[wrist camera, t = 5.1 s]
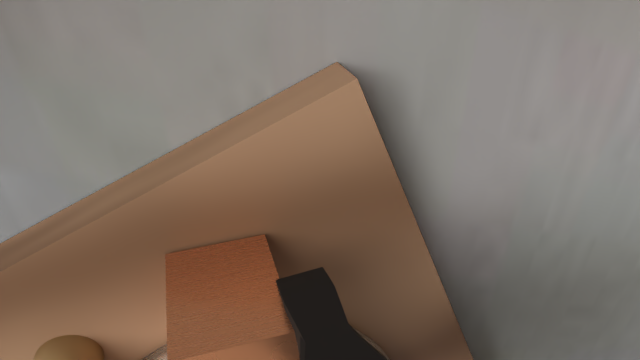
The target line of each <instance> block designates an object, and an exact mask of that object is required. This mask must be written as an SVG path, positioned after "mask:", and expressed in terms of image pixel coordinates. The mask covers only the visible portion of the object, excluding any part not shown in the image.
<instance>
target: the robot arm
mask: <svg viewBox="0 0 640 360" xmlns="http://www.w3.org/2000/svg"><path fill="white" fill-rule="evenodd" d="M276 283H277V286H278V289H279V293H280V296H281V299H282V302H283V305H284V309H285V312H286V314H287V316H288V318H289V321H290V323H291V325H292V327H293V329H294V332H295V336H296V341H297V346H298V351H299V359H300V360H388V359H387V358H385V357H384V356H383V355H382V354H381V353H380V352H379V351H377V350H376V349H375V348H374V347H373V346H372V345H371V344H369V343H368V342H367V341H366V340H365V339H364V338H363V337H362V336H361V335H360V334H359V333H358V332H357V331H356V330H355V329H354V328H353V327H352V326H351V325H350V324H349V323H348V321H347V318H346V315H345V312H344V310H343V307H342V304H341V302H340V299H339V296H338V293H337V291H336V288H335V286H334V284H333V282H332V281H331V279H330V277H329V276H328V274H327V273H326V271H325V270H324V268H323V267H320V268H317V269H313V270H309V271H306V272H302V273H299V274H295V275H291V276H288V277H284V278H281V279H277V280H276Z"/></svg>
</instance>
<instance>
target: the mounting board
mask: <svg viewBox="0 0 640 360" xmlns="http://www.w3.org/2000/svg"><path fill="white" fill-rule="evenodd" d="M264 234H265V237H266V240H267V243H268V246H269V249H270V252H271V255H272V258H273V261H274V264H275V267H276V270H277V273H278V276H279V279H281V278H284V277H288V276H291V275H295V274H299V273H302V272H306V271H309V270H313V269H317V268H320V267H323V268H324V270H325V271H326V273H327V274H328V276H329V277H330V279H331V281H332V282H333V284H334V286H335V288H336V291H337V293H338V296H339V299H340V302H341V304H342V307H343V310H344V312H345V315H346V318H347V321H348V323H349V324H350V325H351V326H352V327H353V328H355V329H357V330H358V331H360V332H362V333H363V334H365V335H367V336H368V337H370V338H371V339H372V340H373V341H374V342H375V343H376V344H378V345H379V346H380V347H381V348H382V350H383V351H384V352H385V354H386V355H387V356H388V358H389V359H390V360H473V357H472V355H471V353H470V350H469V348H468V345H467V343H466V341H465V338H464V336H463V333H462V331H461V328H460V326H459V324H458V321H457V319H456V316H455V314H454V312H453V309H452V307H451V304H450V302H449V299H448V297H447V295H446V292H445V290H444V287H443V285H442V283H441V280H440V278H439V275H438V273H437V270H436V268H435V266H434V263H433V261H432V258H431V256H430V254H429V251H428V249H427V246H426V244H425V241H424V239H423V237H422V234H421V232H420V229H419V227H418V224H417V222H416V220H415V217H414V215H413V212H412V210H411V208H410V205H409V203H408V200H407V198H406V195H405V193H404V191H403V188H402V186H401V183H400V181H399V179H398V176H397V174H396V171H395V169H394V166H393V164H392V162H391V159H390V157H389V154H388V152H387V150H386V147H385V145H384V142H383V140H382V137H381V135H380V133H379V130H378V128H377V125H376V123H375V120H374V118H373V116H372V113H371V111H370V108H369V106H368V104H367V101H366V99H365V96H364V94H363V91H362V89H361V87H360V84H359V82H358V79H357V78H356V77H355V76H354V75H352V74H351V73H350V72H349V71H347V70H346V69H345V68H344V67H343V66H341V65H340V64H339V63H338V62H336V63H334V64H332V65H330V66H328V67H327V68H325V69H323V70H321V71H319V72H317V73H315V74H314V75H312V76H310V77H308V78H306V79H304V80H302V81H301V82H299V83H297V84H295V85H293V86H291V87H289V88H288V89H286V90H284V91H282V92H280V93H278V94H277V95H275V96H273V97H271V98H269V99H267V100H265V101H264V102H262V103H260V104H258V105H256V106H254V107H252V108H251V109H249V110H247V111H245V112H243V113H241V114H239V115H238V116H236V117H234V118H232V119H230V120H228V121H226V122H225V123H223V124H221V125H219V126H217V127H215V128H214V129H212V130H210V131H208V132H206V133H204V134H202V135H201V136H199V137H197V138H195V139H193V140H191V141H189V142H188V143H186V144H184V145H182V146H180V147H178V148H176V149H175V150H173V151H171V152H169V153H167V154H165V155H163V156H162V157H160V158H158V159H156V160H154V161H152V162H151V163H149V164H147V165H145V166H143V167H141V168H139V169H138V170H136V171H134V172H132V173H130V174H128V175H126V176H125V177H123V178H121V179H119V180H117V181H115V182H113V183H112V184H110V185H108V186H106V187H104V188H102V189H101V190H99V191H97V192H95V193H93V194H91V195H89V196H88V197H86V198H84V199H82V200H80V201H78V202H76V203H75V204H73V205H71V206H69V207H67V208H65V209H63V210H62V211H60V212H58V213H56V214H54V215H52V216H50V217H49V218H47V219H45V220H43V221H41V222H39V223H38V224H36V225H34V226H32V227H30V228H28V229H26V230H25V231H23V232H21V233H19V234H17V235H15V236H13V237H12V238H10V239H8V240H6V241H4V242H2V243H0V360H141V359H143V358H144V357H146V356H147V355H149V354H150V353H152V352H154V351H155V350H157V349H158V348H160V347H162V346H164V345H166V344H167V320H166V267H165V254H168V253H173V252H178V251H183V250H188V249H193V248H198V247H203V246H208V245H214V244H219V243H224V242H229V241H234V240H239V239H244V238H249V237H254V236H259V235H264Z"/></svg>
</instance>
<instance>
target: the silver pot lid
mask: <svg viewBox="0 0 640 360" xmlns="http://www.w3.org/2000/svg"><path fill="white" fill-rule="evenodd" d="M165 267H166V320H167V344H166V345H164V346H162V347H160V348H158V349H157V350H155V351H154V352H152V353H150V354H149V355H147V356H146V357H144V358H143V359H141V360H300V359H299V351H298V346H297V341H296V336H295V332H294V329H293V327H292V325H291V323H290V321H289V318H288V316H287V314H286V312H285V309H284V305H283V302H282V299H281V296H280V293H279V289H278V286H277V283H276V280H277V279H279V276H278V273H277V270H276V267H275V264H274V261H273V258H272V255H271V252H270V249H269V246H268V243H267V240H266V237H265V234H264V235H259V236H254V237H249V238H244V239H239V240H234V241H229V242H224V243H219V244H214V245H208V246H203V247H198V248H193V249H188V250H183V251H178V252H173V253H168V254H165ZM354 329H355V328H354ZM355 330H356V331H357V332H358V333H359V334H360V335H361V336H362V337H363V338H364V339H365V340H366V341H367V342H368V343H369V344H371V345H372V346H373V347H374V348H375V349H376V350H377V351H379V352H380V353H381V354H382V355H383V356H384V357H385V358H387V359H388V360H390V359H389V358H388V356H387V355H386V354H385V352H384V351H383V350H382V348H381V347H380V346H379V345H378V344H376V343H375V342H374V341H373V340H372V339H371V338H370V337H368V336H367V335H365V334H363V333H362V332H360V331H358V330H357V329H355Z"/></svg>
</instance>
